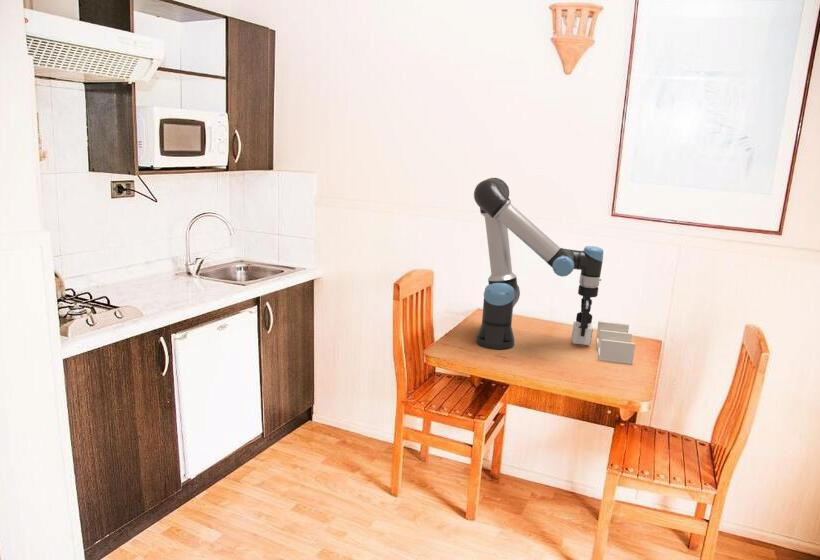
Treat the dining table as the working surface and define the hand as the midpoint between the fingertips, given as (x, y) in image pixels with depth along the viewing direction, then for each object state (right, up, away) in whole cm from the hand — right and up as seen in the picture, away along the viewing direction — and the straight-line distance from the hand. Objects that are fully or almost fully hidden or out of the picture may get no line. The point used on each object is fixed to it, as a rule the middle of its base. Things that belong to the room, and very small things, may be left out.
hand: (581, 340), depth 251 cm
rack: (+11, -4, -5) cm, 13 cm away
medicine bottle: (0, -1, 0) cm, 1 cm away
